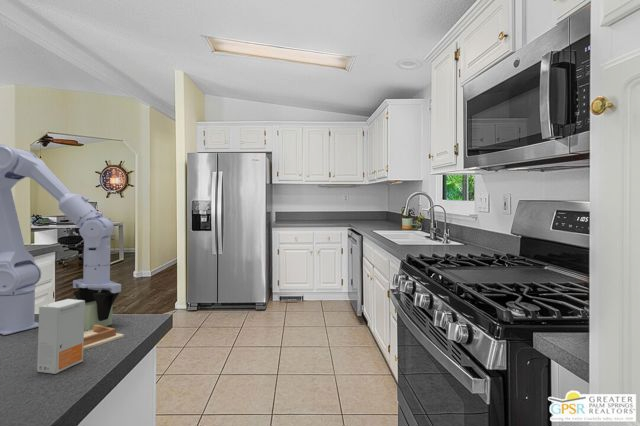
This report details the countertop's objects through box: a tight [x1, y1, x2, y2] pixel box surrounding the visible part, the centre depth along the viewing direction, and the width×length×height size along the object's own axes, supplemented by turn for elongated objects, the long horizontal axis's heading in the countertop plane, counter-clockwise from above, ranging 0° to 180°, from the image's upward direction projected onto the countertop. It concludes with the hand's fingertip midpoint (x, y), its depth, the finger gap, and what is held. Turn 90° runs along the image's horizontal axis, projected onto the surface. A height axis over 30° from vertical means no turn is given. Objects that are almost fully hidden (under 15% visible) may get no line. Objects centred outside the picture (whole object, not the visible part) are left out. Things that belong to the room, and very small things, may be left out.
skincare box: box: [36, 298, 85, 375], centre depth 67 cm, size 6×4×12 cm
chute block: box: [84, 301, 114, 331], centre depth 91 cm, size 4×6×6 cm, turn 156°
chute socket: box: [83, 325, 125, 352], centre depth 80 cm, size 10×12×2 cm
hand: (95, 318), depth 91 cm, fingers open, 5 cm apart
